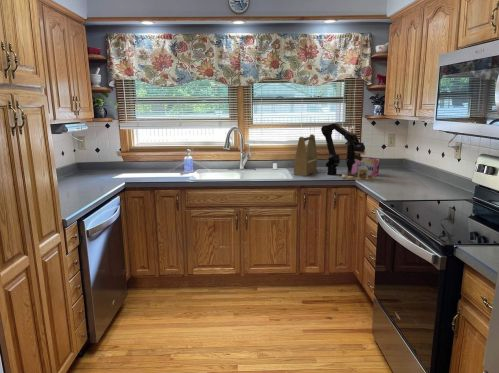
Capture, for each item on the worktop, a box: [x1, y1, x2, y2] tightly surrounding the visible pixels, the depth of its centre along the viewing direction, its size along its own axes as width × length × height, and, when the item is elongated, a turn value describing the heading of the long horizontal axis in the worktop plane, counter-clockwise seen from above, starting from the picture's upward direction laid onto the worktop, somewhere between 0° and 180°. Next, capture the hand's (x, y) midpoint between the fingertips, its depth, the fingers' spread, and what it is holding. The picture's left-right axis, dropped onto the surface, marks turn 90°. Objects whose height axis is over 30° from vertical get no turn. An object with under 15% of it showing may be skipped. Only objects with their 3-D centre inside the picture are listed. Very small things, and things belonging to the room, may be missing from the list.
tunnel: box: [357, 166, 368, 178], centre depth 281 cm, size 7×12×7 cm, turn 167°
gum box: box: [352, 156, 381, 177], centre depth 298 cm, size 24×8×14 cm, turn 46°
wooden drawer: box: [346, 168, 366, 177], centre depth 282 cm, size 13×8×8 cm, turn 77°
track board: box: [341, 173, 374, 181], centre depth 282 cm, size 22×12×2 cm, turn 77°
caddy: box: [293, 134, 318, 177], centre depth 300 cm, size 29×11×30 cm, turn 154°
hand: (349, 171), depth 283 cm, fingers closed on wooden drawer, 3 cm apart
